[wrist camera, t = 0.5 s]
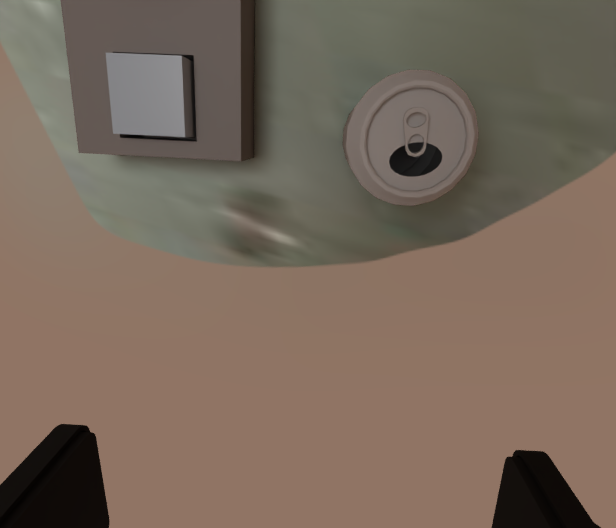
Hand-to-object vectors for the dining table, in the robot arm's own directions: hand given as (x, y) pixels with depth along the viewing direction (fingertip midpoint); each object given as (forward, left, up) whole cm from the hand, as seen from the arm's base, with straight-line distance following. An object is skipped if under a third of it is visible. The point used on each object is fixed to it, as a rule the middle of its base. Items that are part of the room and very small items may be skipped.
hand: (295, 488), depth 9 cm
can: (-8, +5, -28) cm, 29 cm away
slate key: (-10, -12, -25) cm, 30 cm away
